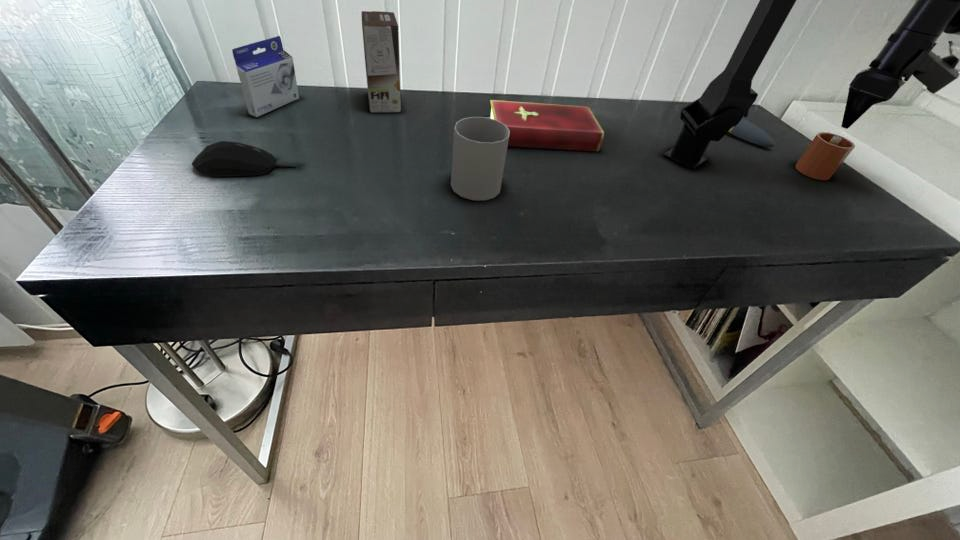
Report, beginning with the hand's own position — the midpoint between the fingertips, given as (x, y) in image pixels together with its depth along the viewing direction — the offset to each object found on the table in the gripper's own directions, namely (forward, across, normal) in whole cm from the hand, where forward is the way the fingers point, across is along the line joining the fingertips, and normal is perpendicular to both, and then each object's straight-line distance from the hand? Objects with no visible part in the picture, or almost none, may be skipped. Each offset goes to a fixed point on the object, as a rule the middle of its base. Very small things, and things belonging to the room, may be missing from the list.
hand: (850, 121), depth 79 cm
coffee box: (+11, -57, +70) cm, 91 cm away
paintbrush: (+11, +2, +19) cm, 22 cm away
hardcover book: (+11, -38, +42) cm, 58 cm away
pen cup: (+11, 0, 0) cm, 11 cm away
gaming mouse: (+11, -89, +61) cm, 109 cm away
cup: (+11, -62, +36) cm, 73 cm away
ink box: (+11, -76, +79) cm, 110 cm away
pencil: (+10, 0, 0) cm, 10 cm away
